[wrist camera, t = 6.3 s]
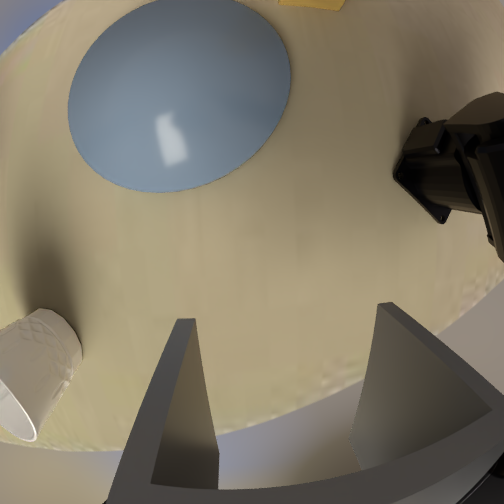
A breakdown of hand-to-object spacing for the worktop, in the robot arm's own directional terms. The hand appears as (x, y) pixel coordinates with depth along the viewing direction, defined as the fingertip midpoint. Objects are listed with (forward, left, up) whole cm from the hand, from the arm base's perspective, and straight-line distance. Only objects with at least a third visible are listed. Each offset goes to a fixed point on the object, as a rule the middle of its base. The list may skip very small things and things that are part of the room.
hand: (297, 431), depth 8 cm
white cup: (+14, +14, -12) cm, 23 cm away
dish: (+14, -10, -12) cm, 21 cm away
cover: (0, 0, -2) cm, 2 cm away
